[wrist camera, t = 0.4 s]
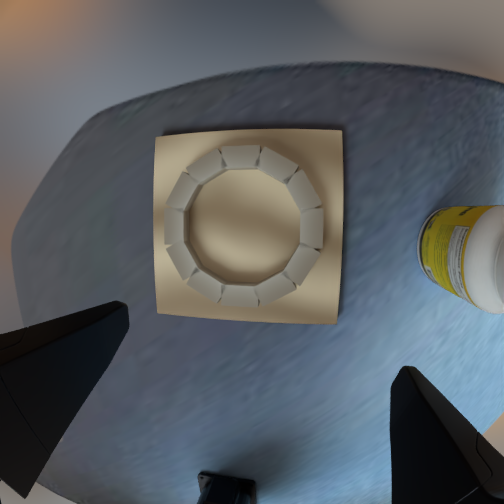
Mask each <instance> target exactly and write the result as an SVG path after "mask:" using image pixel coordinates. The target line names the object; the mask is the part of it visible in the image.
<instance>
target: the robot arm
mask: <svg viewBox="0 0 504 504" xmlns="http://www.w3.org/2000/svg"><path fill="white" fill-rule="evenodd" d="M128 329H129V314H128V306H127V304H125V303H123V302H120V301H112V302H109V303H106V304H102V305H99V306H96V307H92V308H89V309H86V310H82V311H79V312H76V313H73V314H69V315H66V316H63V317H59V318H56V319H52V320H49V321H46V322H42V323H39V324H36V325H32V326H29V327H28V328H27V327H25V328H22V329H19V330H15V331H11V332H8V333H4V334H0V481H1V480H2V481H3V482H5V483H6V484H7V485H8V486H9V487H10V488H12V489H13V490H14V491H15V492H17V493H18V494H19V495H20V496H21V497H23V498H24V499H25V498H26V497H27V496H28V494H29V492H30V490H31V488H32V487H33V485H34V483H35V481H36V480H37V478H38V476H39V475H40V473H41V471H42V469H43V468H44V466H45V464H46V463H47V461H48V459H49V458H50V456H51V454H52V452H53V451H54V449H55V447H56V446H57V444H58V443H59V441H60V439H61V438H62V436H63V434H64V433H65V431H66V430H67V428H68V427H69V425H70V423H71V422H72V420H73V419H74V417H75V416H76V414H77V412H78V411H79V409H80V408H81V406H82V405H83V403H84V402H85V400H86V399H87V397H88V396H89V394H90V393H91V391H92V390H93V388H94V387H95V385H96V384H97V382H98V381H99V379H100V378H101V376H102V375H103V373H104V372H105V371H106V369H107V367H108V366H109V364H110V363H111V361H112V359H113V357H114V355H115V354H116V352H117V350H118V348H119V346H120V344H121V342H122V341H123V339H124V337H125V335H126V333H127V332H128ZM390 444H391V468H392V504H504V457H503V456H502V455H501V454H500V453H499V452H498V451H497V450H496V449H495V448H494V447H493V446H492V445H491V444H490V443H489V442H488V441H487V440H486V439H485V438H484V437H483V436H482V435H481V434H480V433H479V432H477V430H476V429H475V427H474V426H473V425H472V424H471V423H470V422H469V421H468V420H467V419H466V418H465V417H464V416H463V415H462V414H461V413H460V412H459V411H458V410H457V409H456V408H455V407H454V406H453V405H452V404H451V403H450V402H449V401H448V400H447V399H446V398H445V396H444V395H443V394H442V393H441V392H440V391H439V390H438V389H437V388H436V387H435V386H434V385H433V384H432V383H431V382H430V381H429V380H428V379H427V378H426V377H425V376H424V375H423V374H422V373H421V372H420V371H419V370H418V369H417V368H415V367H413V366H403V367H402V368H401V369H400V371H399V373H398V375H397V376H396V378H395V380H394V381H393V383H392V385H391V397H390ZM198 482H199V487H200V492H201V495H200V497H199V500H198V502H197V504H255V495H256V482H255V481H252V480H244V479H236V478H229V477H222V476H216V475H210V474H205V473H199V474H198ZM0 504H1V500H0Z"/></svg>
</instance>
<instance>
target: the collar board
mask: <svg viewBox="0 0 504 504" xmlns="http://www.w3.org/2000/svg"><path fill="white" fill-rule="evenodd" d="M153 222H154V264H155V284H156V300H157V313H161V314H170V315H180V316H190V317H201V318H212V319H225V320H239V321H254V322H273V323H297V324H337V315H338V304H339V291H340V277H341V260H342V236H343V146H342V131H340V130H318V129H250V130H228V131H212V132H199V133H188V134H178V135H169V136H161V137H156V143H155V163H154V205H153Z"/></svg>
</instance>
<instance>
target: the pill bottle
mask: <svg viewBox="0 0 504 504" xmlns="http://www.w3.org/2000/svg"><path fill="white" fill-rule="evenodd" d="M417 256H418V261H419V264H420V267H421V269H422V270H423V272H424V274H425V275H426V276H427V277H428V278H429V279H430V280H431V281H432V282H434V283H435V284H437V285H439V286H441V287H442V288H444V289H446V290H448V291H450V292H451V293H453V294H455V295H457V296H458V297H460V298H462V299H464V300H466V301H467V302H469V303H471V304H473V305H474V306H476V307H478V308H479V309H481V310H483V311H486V312H488V313H492V314H502V313H504V205H495V206H456V207H445V208H441V209H439V210H437V211H435V212H434V213H432V214H431V215H430V216H429V217H428V218H427V219H426V221H425V222H424V224H423V226H422V228H421V230H420V233H419V236H418V241H417Z"/></svg>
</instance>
